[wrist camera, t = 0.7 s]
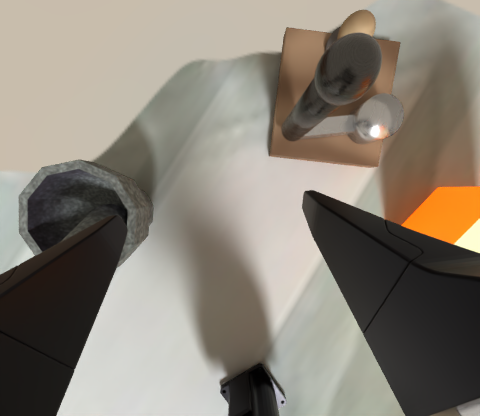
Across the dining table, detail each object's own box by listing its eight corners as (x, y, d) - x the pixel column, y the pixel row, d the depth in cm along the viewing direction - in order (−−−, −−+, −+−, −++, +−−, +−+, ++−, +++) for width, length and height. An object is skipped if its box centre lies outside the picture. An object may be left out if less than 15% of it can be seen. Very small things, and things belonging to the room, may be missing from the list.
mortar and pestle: (89, 164, 21) (-102, 132, 9) (170, 173, 21) (85, 154, 10) (86, 257, 22) (-88, 336, 10) (163, 265, 23) (80, 352, 11)
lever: (383, 142, 20) (588, 76, 8) (277, 153, 20) (333, 102, 8) (382, 103, 19) (597, -24, 8) (274, 114, 19) (328, 3, 8)
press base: (370, 167, 22) (407, 161, 17) (269, 156, 21) (278, 146, 17) (391, 46, 20) (438, 3, 16) (284, 32, 20) (298, -16, 15)
